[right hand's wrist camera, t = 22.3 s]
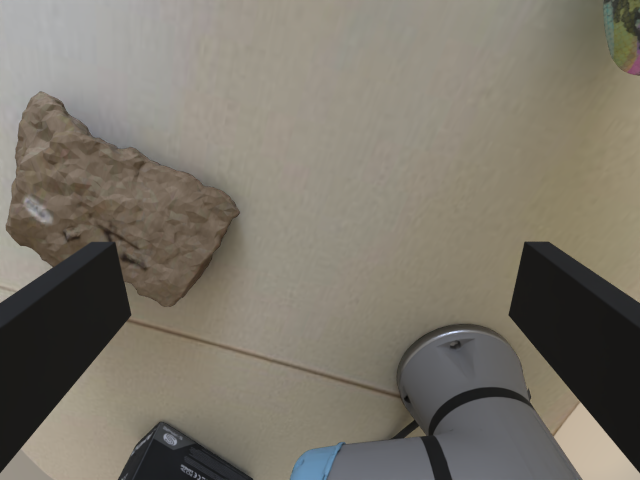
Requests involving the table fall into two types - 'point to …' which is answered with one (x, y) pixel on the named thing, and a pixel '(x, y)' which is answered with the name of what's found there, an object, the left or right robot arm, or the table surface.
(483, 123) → the table surface
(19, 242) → the stone
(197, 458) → the graphics card box
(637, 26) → the ballet flat
